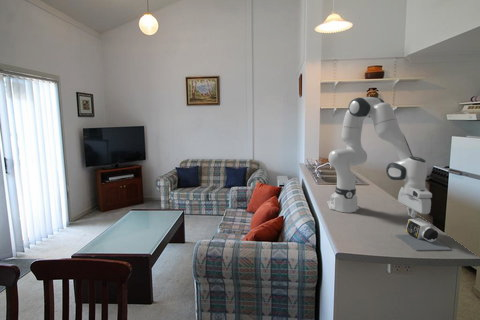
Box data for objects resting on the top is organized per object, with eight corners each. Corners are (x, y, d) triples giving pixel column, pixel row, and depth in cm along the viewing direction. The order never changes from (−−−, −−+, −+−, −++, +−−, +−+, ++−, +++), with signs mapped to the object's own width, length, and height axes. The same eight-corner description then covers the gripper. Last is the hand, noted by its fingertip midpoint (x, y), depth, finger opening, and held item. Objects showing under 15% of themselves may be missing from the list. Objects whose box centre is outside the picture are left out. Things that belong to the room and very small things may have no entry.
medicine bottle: (408, 219, 140) (430, 231, 129) (418, 217, 142) (441, 229, 132) (405, 231, 142) (427, 245, 131) (415, 230, 144) (438, 242, 134)
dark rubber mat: (395, 235, 141) (395, 234, 141) (427, 235, 142) (427, 234, 142) (416, 250, 126) (416, 249, 125) (451, 250, 126) (451, 249, 126)
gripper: (395, 184, 150) (393, 209, 152) (421, 195, 129) (418, 224, 131) (407, 184, 150) (405, 209, 152) (434, 195, 130) (431, 224, 132)
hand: (411, 216), depth 142 cm, fingers closed
